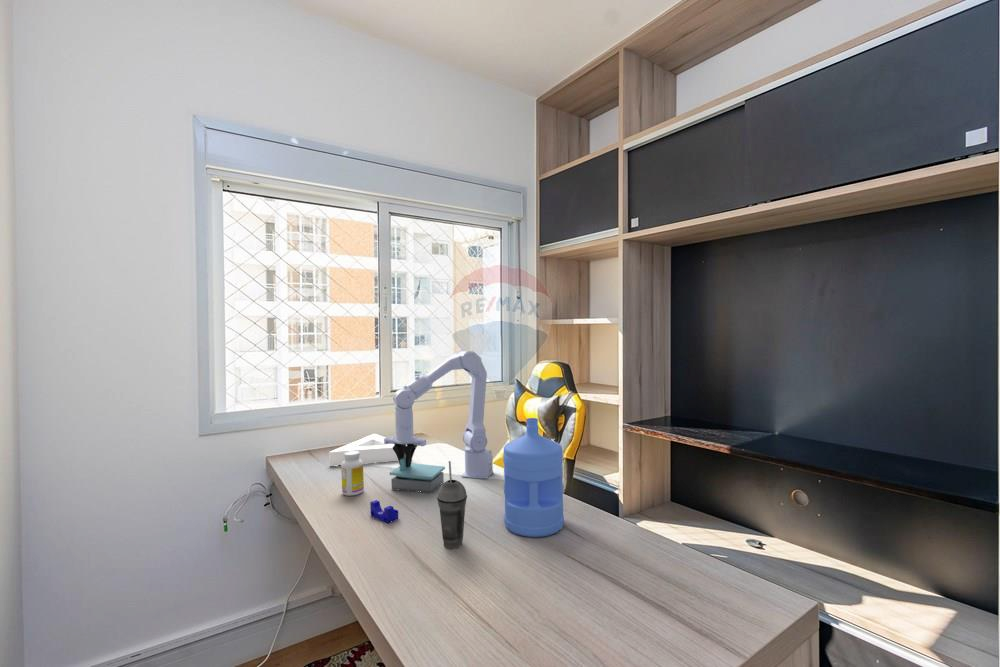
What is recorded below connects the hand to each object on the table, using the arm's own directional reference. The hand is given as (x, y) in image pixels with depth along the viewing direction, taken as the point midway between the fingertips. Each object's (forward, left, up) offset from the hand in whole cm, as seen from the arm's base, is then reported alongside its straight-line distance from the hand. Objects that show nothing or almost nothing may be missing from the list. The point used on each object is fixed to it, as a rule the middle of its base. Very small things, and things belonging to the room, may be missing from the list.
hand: (405, 466), depth 152 cm
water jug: (-47, +20, -6) cm, 52 cm away
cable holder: (-6, +25, -7) cm, 26 cm away
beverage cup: (-30, +35, -6) cm, 47 cm away
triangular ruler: (+31, -30, -7) cm, 43 cm away
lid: (-4, 0, -2) cm, 5 cm away
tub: (-4, 0, -6) cm, 8 cm away
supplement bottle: (+14, +10, -6) cm, 18 cm away
